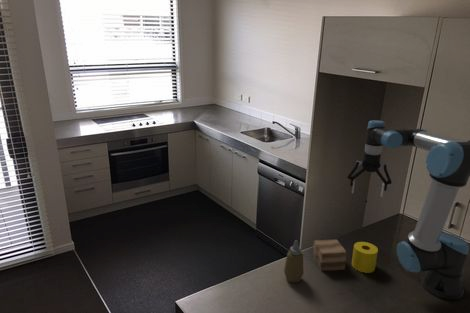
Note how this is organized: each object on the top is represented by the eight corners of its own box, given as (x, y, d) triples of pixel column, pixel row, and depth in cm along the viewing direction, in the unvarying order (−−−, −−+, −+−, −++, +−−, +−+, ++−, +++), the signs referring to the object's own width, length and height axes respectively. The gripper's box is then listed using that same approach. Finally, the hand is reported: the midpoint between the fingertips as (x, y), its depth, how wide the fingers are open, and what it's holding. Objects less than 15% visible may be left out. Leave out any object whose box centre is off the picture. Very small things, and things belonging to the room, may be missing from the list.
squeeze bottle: (306, 278, 152) (310, 241, 146) (295, 287, 146) (299, 248, 141) (290, 270, 157) (293, 233, 152) (279, 278, 151) (282, 240, 146)
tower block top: (345, 261, 158) (346, 252, 156) (321, 262, 156) (322, 253, 155) (335, 247, 168) (336, 239, 167) (313, 249, 167) (313, 240, 165)
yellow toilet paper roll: (346, 262, 164) (349, 244, 161) (363, 257, 168) (366, 240, 165) (362, 275, 155) (365, 256, 153) (379, 269, 159) (383, 251, 157)
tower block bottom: (344, 270, 159) (345, 261, 158) (320, 271, 158) (321, 262, 156) (335, 256, 169) (336, 248, 168) (312, 257, 168) (313, 248, 167)
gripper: (400, 153, 171) (393, 195, 177) (345, 148, 179) (341, 188, 185) (401, 158, 164) (394, 201, 170) (345, 152, 172) (340, 193, 178)
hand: (367, 194), depth 178 cm, fingers open, 13 cm apart
